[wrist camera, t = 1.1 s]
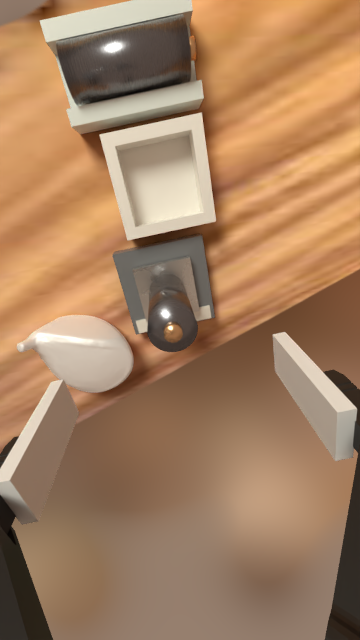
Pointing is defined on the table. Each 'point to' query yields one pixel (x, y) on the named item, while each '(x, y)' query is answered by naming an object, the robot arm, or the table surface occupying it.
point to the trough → (145, 6)
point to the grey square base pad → (160, 253)
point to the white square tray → (160, 175)
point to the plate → (151, 271)
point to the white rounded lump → (83, 352)
